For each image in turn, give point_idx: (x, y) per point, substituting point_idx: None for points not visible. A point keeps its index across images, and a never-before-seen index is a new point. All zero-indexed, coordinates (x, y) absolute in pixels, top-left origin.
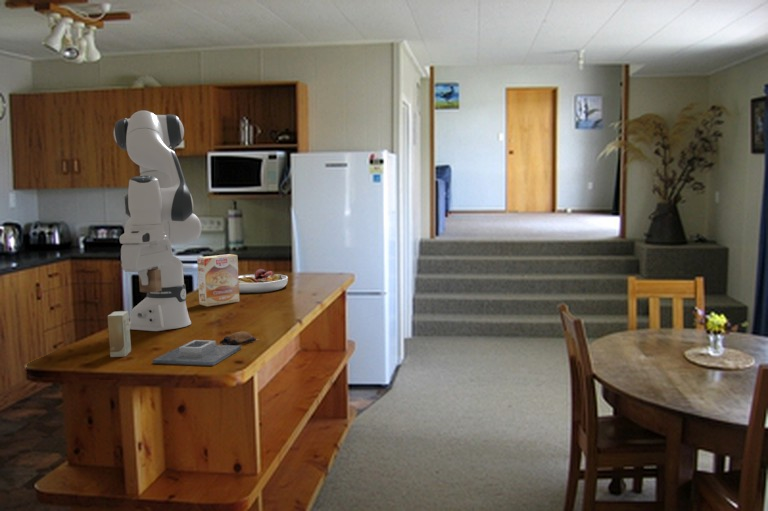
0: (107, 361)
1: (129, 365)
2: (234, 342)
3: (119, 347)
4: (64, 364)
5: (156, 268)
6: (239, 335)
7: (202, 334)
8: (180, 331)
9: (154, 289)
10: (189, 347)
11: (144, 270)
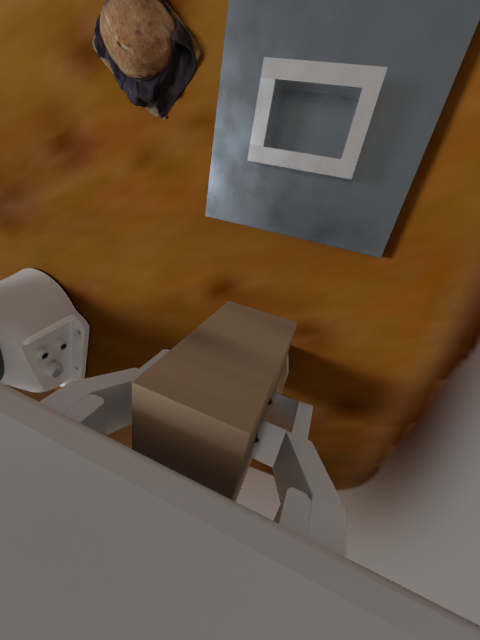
0: (326, 372)
1: (383, 314)
2: (184, 36)
3: (284, 365)
4: (334, 445)
5: (95, 422)
6: (146, 17)
7: (91, 211)
8: (78, 275)
9: (291, 340)
10: (361, 133)
11: (344, 552)
